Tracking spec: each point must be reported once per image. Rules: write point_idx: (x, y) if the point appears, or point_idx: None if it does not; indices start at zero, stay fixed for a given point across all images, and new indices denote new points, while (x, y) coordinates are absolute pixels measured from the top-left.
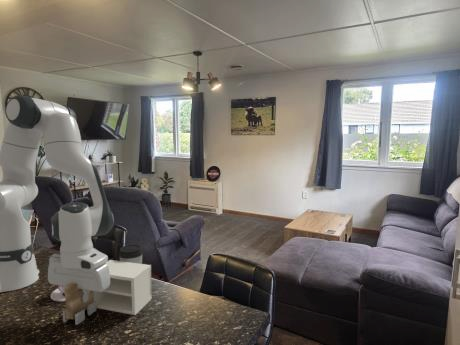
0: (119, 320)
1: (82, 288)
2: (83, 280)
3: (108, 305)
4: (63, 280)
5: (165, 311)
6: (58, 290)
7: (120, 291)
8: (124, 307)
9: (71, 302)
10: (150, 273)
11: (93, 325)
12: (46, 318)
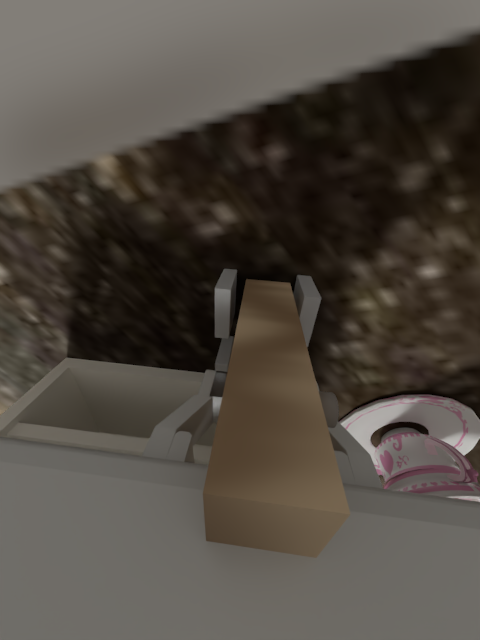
0: (87, 324)
1: (154, 469)
2: (60, 625)
3: (181, 387)
4: (453, 602)
5: (4, 382)
6: (457, 445)
7: (81, 447)
8: (115, 383)
9: (240, 334)
10: None
11: (153, 279)
12: (418, 286)
